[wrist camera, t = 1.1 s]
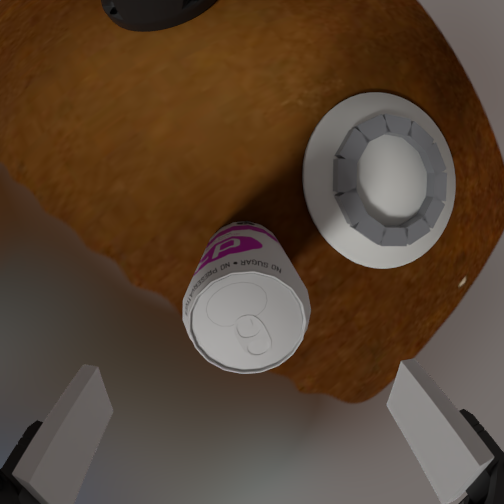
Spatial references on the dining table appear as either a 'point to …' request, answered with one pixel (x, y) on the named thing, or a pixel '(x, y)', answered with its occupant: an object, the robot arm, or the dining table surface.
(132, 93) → the dining table surface
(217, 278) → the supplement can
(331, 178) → the round tray
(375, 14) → the dining table surface
